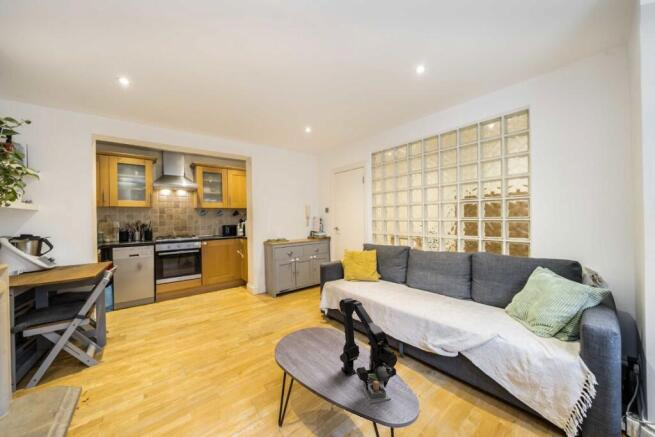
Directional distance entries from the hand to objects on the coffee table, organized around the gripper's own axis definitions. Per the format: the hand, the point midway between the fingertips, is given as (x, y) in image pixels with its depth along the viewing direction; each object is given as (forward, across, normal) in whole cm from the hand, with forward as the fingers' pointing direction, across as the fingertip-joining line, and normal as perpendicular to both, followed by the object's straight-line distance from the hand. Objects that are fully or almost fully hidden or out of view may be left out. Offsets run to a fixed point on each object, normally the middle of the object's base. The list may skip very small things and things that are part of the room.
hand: (375, 388), depth 120 cm
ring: (+2, 0, 0) cm, 2 cm away
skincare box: (+3, +7, +12) cm, 14 cm away
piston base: (+2, 0, 0) cm, 2 cm away
